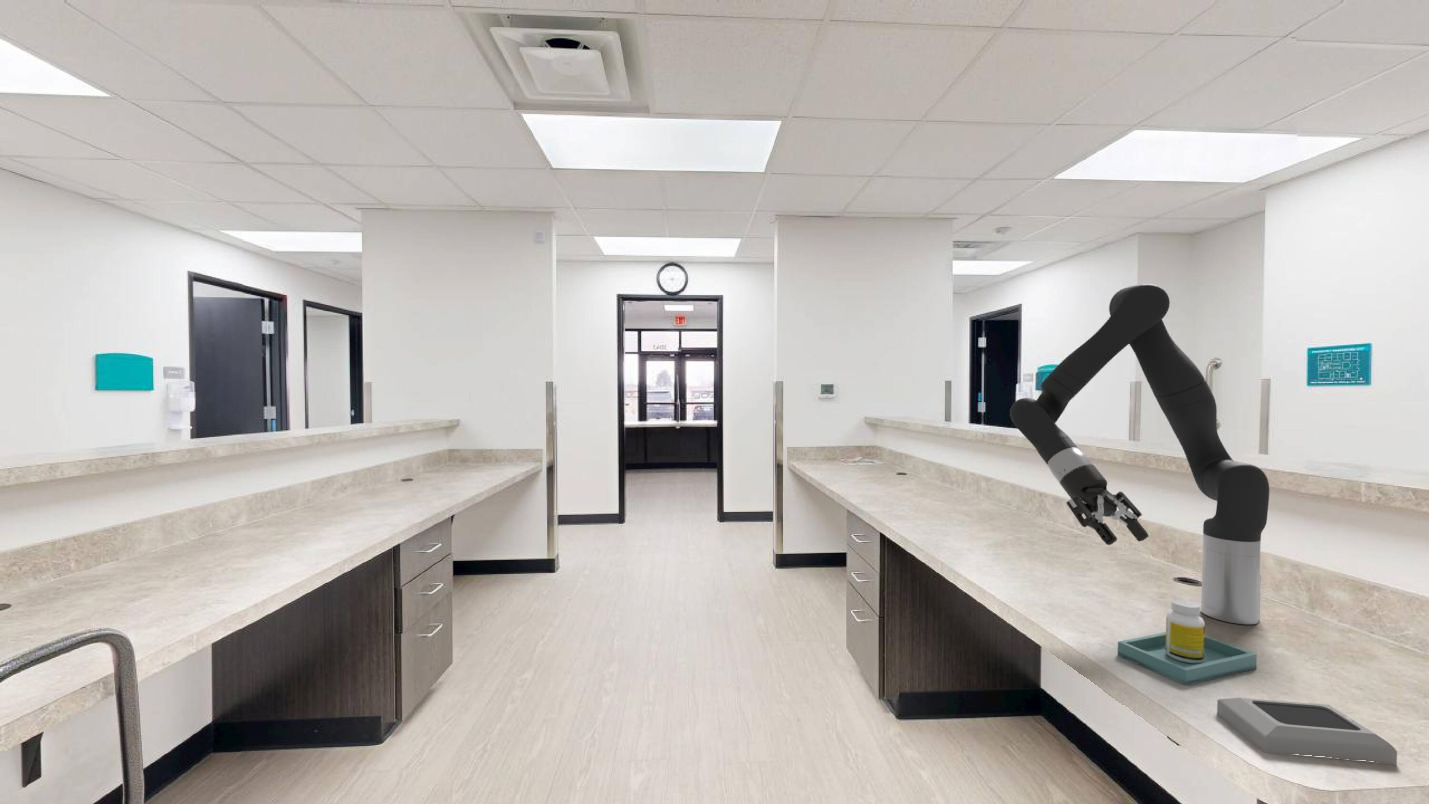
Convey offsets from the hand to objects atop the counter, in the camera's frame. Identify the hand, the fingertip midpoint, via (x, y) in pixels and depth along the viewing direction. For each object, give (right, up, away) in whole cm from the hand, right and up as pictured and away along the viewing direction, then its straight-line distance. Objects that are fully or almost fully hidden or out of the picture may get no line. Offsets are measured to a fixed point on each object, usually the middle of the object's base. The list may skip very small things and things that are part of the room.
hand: (1128, 540), depth 115 cm
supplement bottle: (+3, -19, -9) cm, 21 cm away
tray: (+3, -19, -9) cm, 22 cm away
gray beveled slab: (+2, -21, -32) cm, 38 cm away
